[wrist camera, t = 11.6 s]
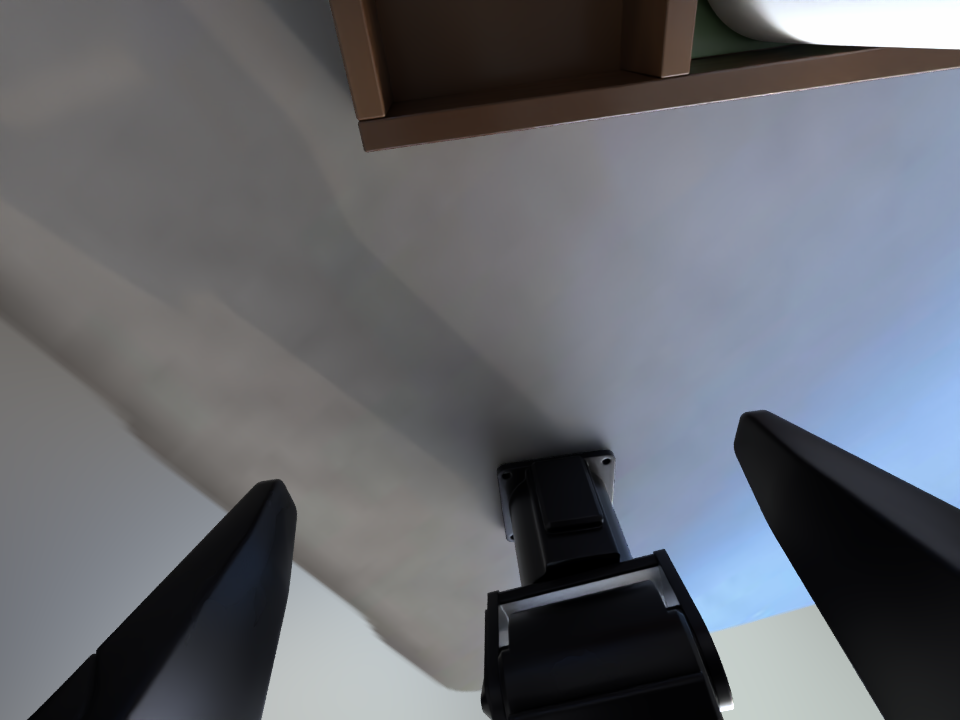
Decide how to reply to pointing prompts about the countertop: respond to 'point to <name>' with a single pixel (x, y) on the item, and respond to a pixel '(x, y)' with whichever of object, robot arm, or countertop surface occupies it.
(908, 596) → the robot arm
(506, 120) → the divided wooden tray
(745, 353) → the countertop surface
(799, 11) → the can
